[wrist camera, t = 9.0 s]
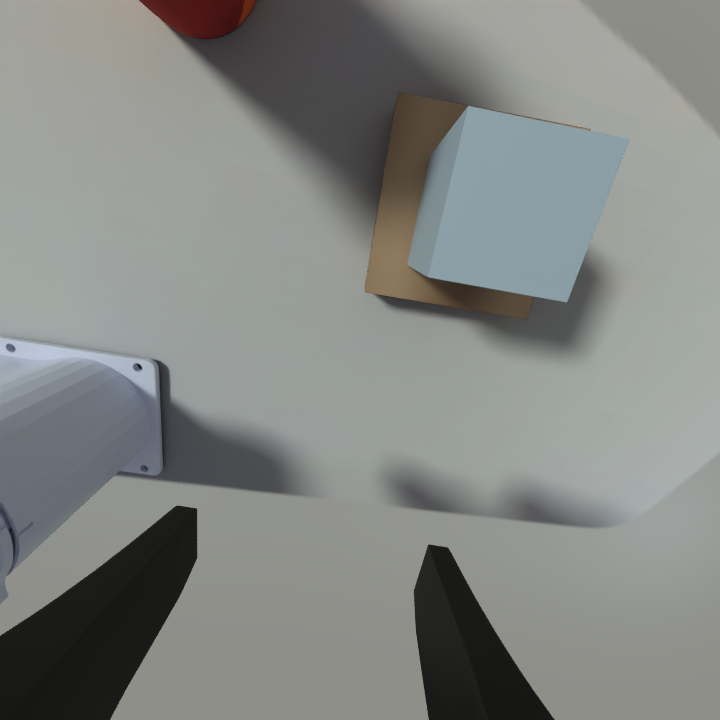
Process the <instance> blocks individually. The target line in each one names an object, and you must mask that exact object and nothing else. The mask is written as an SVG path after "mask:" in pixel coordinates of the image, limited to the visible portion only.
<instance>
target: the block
mask: <svg viewBox="0 0 720 720" xmlns="http://www.w3.org/2000/svg"><path fill="white" fill-rule="evenodd" d="M629 140H630V139H628V138H623V137H618V136H613V135H609V134H604V133H599V132H594V131H589V130H584V129H579V128H574V127H570V126H565V125H560V124H555V123H550V122H545V121H540V120H535V119H530V118H526V117H521V116H516V115H511V114H506V113H501V112H496V111H491V110H487V109H482V108H477V107H472V106H468V107H467V108H466V110H465V111H464V112H463V113H462V115H461V116H460V117H459V119H458V120H457V121H456V123H455V124H454V125H453V127H452V128H451V129H450V130H449V132H448V133H447V134H446V136H445V137H444V138H443V140H442V141H441V142H440V144H439V145H438V146H437V147H436V149H435V150H434V151H433V153H432V154H431V155H430V160H429V164H428V169H427V174H426V178H425V183H424V188H423V193H422V197H421V202H420V207H419V211H418V216H417V221H416V225H415V230H414V235H413V239H412V244H411V249H410V253H409V258H408V263H407V265H408V266H410V267H411V268H413V269H415V270H416V271H418V272H420V273H421V274H423V275H425V276H427V277H429V278H435V279H440V280H446V281H451V282H457V283H462V284H468V285H473V286H479V287H484V288H490V289H496V290H501V291H507V292H512V293H518V294H523V295H529V296H534V297H540V298H545V299H551V300H556V301H562V302H567V301H568V299H569V296H570V293H571V291H572V288H573V286H574V283H575V280H576V278H577V275H578V272H579V270H580V267H581V265H582V262H583V259H584V257H585V254H586V252H587V249H588V246H589V244H590V241H591V239H592V236H593V233H594V231H595V228H596V226H597V223H598V220H599V218H600V215H601V213H602V210H603V207H604V205H605V202H606V199H607V197H608V194H609V192H610V189H611V186H612V184H613V181H614V179H615V176H616V173H617V171H618V168H619V166H620V163H621V160H622V158H623V155H624V153H625V150H626V147H627V145H628V142H629Z"/></svg>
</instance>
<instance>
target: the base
mask: <svg viewBox="0 0 720 720" xmlns="http://www.w3.org/2000/svg"><path fill="white" fill-rule="evenodd" d="M467 107H468V105H463V104H458V103H453V102H447V101H442V100H437V99H432V98H427V97H422V96H416V95H411V94H406V93H401V92H398V95H397V100H396V104H395V109H394V115H393V121H392V127H391V133H390V139H389V145H388V151H387V157H386V163H385V169H384V175H383V181H382V187H381V193H380V199H379V205H378V211H377V217H376V223H375V229H374V235H373V241H372V247H371V253H370V259H369V265H368V271H367V277H366V283H365V292H367V293H373V294H379V295H384V296H390V297H396V298H402V299H408V300H414V301H420V302H426V303H432V304H438V305H444V306H450V307H456V308H462V309H468V310H474V311H480V312H486V313H492V314H498V315H504V316H510V317H516V318H521V319H527V317H528V314H529V311H530V308H531V305H532V302H533V299H534V296H529V295H523V294H518V293H512V292H507V291H501V290H496V289H490V288H484V287H479V286H473V285H468V284H462V283H457V282H451V281H446V280H440V279H435V278H429V277H427V276H425V275H423V274H421V273H420V272H418V271H416V270H415V269H413V268H411V267H410V266H408V265H407V263H408V258H409V253H410V249H411V244H412V239H413V235H414V230H415V225H416V221H417V216H418V211H419V207H420V202H421V197H422V193H423V188H424V183H425V178H426V174H427V169H428V164H429V160H430V155H431V154H432V153H433V151H434V150H435V149H436V147H437V146H438V145H439V144H440V142H441V141H442V140H443V138H444V137H445V136H446V134H447V133H448V132H449V130H450V129H451V128H452V127H453V125H454V124H455V123H456V121H457V120H458V119H459V117H460V116H461V115H462V113H463V112H464V111H465V110H466V108H467ZM472 107H473V106H472ZM477 108H479V107H477ZM482 109H484V108H482ZM487 110H489V109H487ZM491 111H494V110H491ZM496 112H499V111H496ZM501 113H504V112H501ZM506 114H510V113H506ZM511 115H515V114H511ZM516 116H520V115H516ZM521 117H525V116H521ZM526 118H530V117H526ZM530 119H535V118H530ZM535 120H540V121H545V122H550V123H555V124H560V125H565V126H570V127H574V128H579V129H584V130H589V131H591V129H587V128H582V127H577V126H572V125H567V124H561V123H556V122H551V121H546V120H541V119H535Z"/></svg>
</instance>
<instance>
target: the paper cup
mask: <svg viewBox="0 0 720 720" xmlns="http://www.w3.org/2000/svg"><path fill="white" fill-rule="evenodd" d="M139 1H140V2H141V3H143V4H144V5H145V6H146V7H147V8H148V9H149V10H150V11H152V12H153V13H154V14H155V15H156V16H158V17H159V18H160V19H161V20H162V21H164V22H165V23H166V24H167V25H169V26H170V27H172V28H173V29H175V30H177V31H178V32H180V33H182V34H185V35H187V36H190V37H193V38H198V39H214V38H218V37H222V36H224V35H227V34H229V33H230V32H232V31H233V30H235V29H236V28H237V27H239V26H240V25H241V24H242V23H243V22H244V21H245V19H246V18H247V17H248V15H249V14H250V12H251V11H252V9H253V7H254V5H255V3H256V0H139Z"/></svg>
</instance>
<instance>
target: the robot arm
mask: <svg viewBox="0 0 720 720" xmlns="http://www.w3.org/2000/svg"><path fill="white" fill-rule="evenodd" d="M13 346H15V348H14V347H13ZM137 363H138V364H140V365H141V366H142V369H140V368H139V367H138V365H137ZM144 465H145V466H147V467H148V468H146V467H145V466H144ZM162 470H163V455H162V431H161V408H160V384H159V367H158V364H157V363H156V362H155V361H154V360H152V359H148V358H141V357H135V356H129V355H122V354H116V353H109V352H103V351H96V350H90V349H84V348H77V347H71V346H64V345H58V344H51V343H45V342H39V341H32V340H26V339H19V338H13V337H7V336H0V604H1V603H2V602H3V601H4V600H5V599H6V598H7V597H8V593H7V590H6V588H5V579H6V576H8V574H10V573H11V572H12V571H13V570H14V569H15V568H16V567H17V566H18V565H19V564H20V563H21V562H22V561H24V560H25V559H26V558H27V557H28V556H29V555H30V554H31V553H32V552H33V551H34V550H35V549H36V548H37V547H38V546H39V545H41V544H42V543H43V542H44V541H45V540H46V539H47V538H48V537H49V536H50V535H51V534H52V533H53V532H55V531H56V529H58V528H59V527H60V526H61V525H62V524H63V523H64V522H65V521H66V520H67V519H68V518H69V517H71V515H73V514H74V513H75V512H76V511H77V510H78V509H79V508H80V507H81V506H82V505H83V504H84V503H85V502H86V501H88V500H89V499H90V497H92V496H93V495H94V494H95V493H96V492H97V491H98V490H99V489H100V488H102V486H104V485H105V484H106V483H107V482H108V481H109V480H110V479H111V478H112V477H113V476H114V475H115V474H116V473H118V472H119V471H124V472H131V473H138V474H145V475H152V476H156V475H158V474H159V473H160V472H161V471H162ZM196 559H197V509H196V508H190V507H183V506H176V507H174V508H173V509H172V510H170V511H169V512H168V513H167V514H166V515H164V516H163V517H162V518H161V519H159V520H158V521H157V522H156V523H155V524H153V525H152V526H151V527H150V528H148V529H147V530H146V531H145V532H144V533H142V534H141V535H140V536H139V537H137V538H136V539H135V540H134V541H132V542H131V543H130V544H129V545H127V546H126V547H125V548H123V549H122V550H121V551H120V552H118V553H117V554H116V555H114V556H113V557H112V558H111V559H109V560H108V561H107V562H105V563H104V564H103V565H102V566H100V567H99V568H98V569H96V570H95V571H94V572H92V573H91V574H90V575H88V576H87V577H85V578H84V579H83V580H81V581H80V582H79V583H77V584H76V585H74V586H73V587H72V588H70V589H69V590H67V591H66V592H65V593H63V594H62V595H61V596H59V597H58V598H56V599H55V600H53V601H52V602H51V603H49V604H48V605H46V606H45V607H43V608H42V609H40V610H39V611H37V612H36V613H35V614H33V615H32V616H30V617H29V618H27V619H25V620H24V621H22V622H21V623H19V624H18V625H16V626H15V627H13V628H12V629H10V630H9V631H7V632H5V633H4V634H2V635H1V636H0V720H110V719H111V717H112V714H113V713H114V711H115V709H116V707H117V705H118V703H119V701H120V700H121V698H122V696H123V694H124V692H125V690H126V688H127V687H128V685H129V683H130V681H131V679H132V678H133V676H134V675H135V673H136V671H137V669H138V668H139V666H140V664H141V662H142V661H143V659H144V657H145V656H146V654H147V652H148V650H149V649H150V647H151V645H152V644H153V642H154V640H155V638H156V637H157V635H158V633H159V631H160V630H161V628H162V626H163V624H164V623H165V621H166V619H167V617H168V616H169V614H170V612H171V610H172V609H173V607H174V605H175V603H176V602H177V600H178V598H179V596H180V594H181V592H182V590H183V588H184V586H185V583H186V582H187V579H188V577H189V575H190V573H191V570H192V568H193V566H194V564H195V561H196ZM414 602H415V621H416V622H415V623H416V634H417V642H418V649H419V656H420V662H421V670H422V676H423V683H424V689H425V697H426V704H427V710H428V717H429V720H554V718H553V717H552V716H551V714H550V713H549V711H548V710H547V709H546V707H545V706H544V704H543V703H542V702H541V700H540V699H539V697H538V696H537V695H536V694H535V692H534V691H533V689H532V688H531V686H530V685H529V683H528V682H527V680H526V679H525V677H524V676H523V674H522V673H521V671H520V670H519V668H518V667H517V665H516V664H515V662H514V661H513V659H512V657H511V656H510V654H509V653H508V651H507V650H506V648H505V647H504V645H503V643H502V642H501V640H500V639H499V637H498V635H497V634H496V632H495V630H494V629H493V627H492V625H491V624H490V622H489V620H488V619H487V617H486V615H485V614H484V612H483V610H482V608H481V607H480V605H479V603H478V602H477V600H476V598H475V596H474V595H473V593H472V591H471V589H470V587H469V585H468V584H467V582H466V580H465V578H464V576H463V574H462V573H461V571H460V569H459V567H458V565H457V563H456V561H455V559H454V557H453V556H452V554H451V552H450V550H449V549H448V548H447V547H441V546H434V545H428V547H427V551H426V554H425V557H424V560H423V563H422V567H421V570H420V573H419V577H418V579H417V583H416V586H415V589H414Z"/></svg>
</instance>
